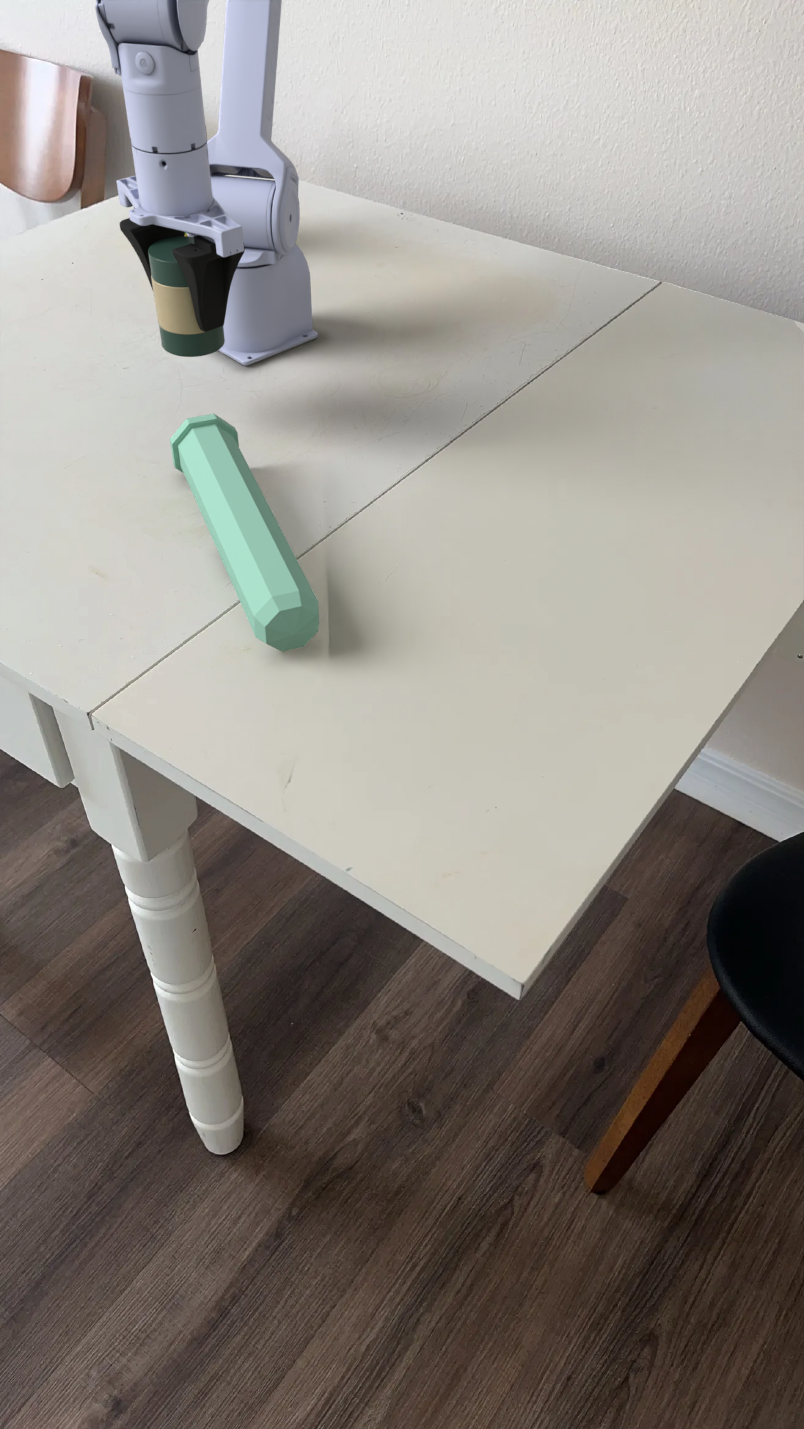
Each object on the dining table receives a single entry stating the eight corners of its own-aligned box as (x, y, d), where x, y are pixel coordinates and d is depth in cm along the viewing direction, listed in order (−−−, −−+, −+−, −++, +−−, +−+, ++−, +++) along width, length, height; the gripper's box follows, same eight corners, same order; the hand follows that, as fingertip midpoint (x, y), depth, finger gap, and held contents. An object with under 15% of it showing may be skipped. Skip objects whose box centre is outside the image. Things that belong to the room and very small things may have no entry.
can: (200, 322, 96) (189, 230, 90) (238, 344, 93) (229, 250, 88) (148, 341, 93) (134, 247, 88) (185, 363, 90) (172, 268, 85)
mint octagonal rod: (314, 584, 71) (218, 400, 87) (237, 629, 71) (155, 436, 87) (347, 638, 76) (250, 453, 92) (274, 680, 76) (190, 488, 92)
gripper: (72, 129, 84) (103, 300, 93) (180, 179, 76) (202, 359, 86) (149, 111, 87) (171, 278, 97) (259, 158, 80) (272, 333, 89)
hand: (190, 315), depth 92 cm, fingers closed on can, 5 cm apart
